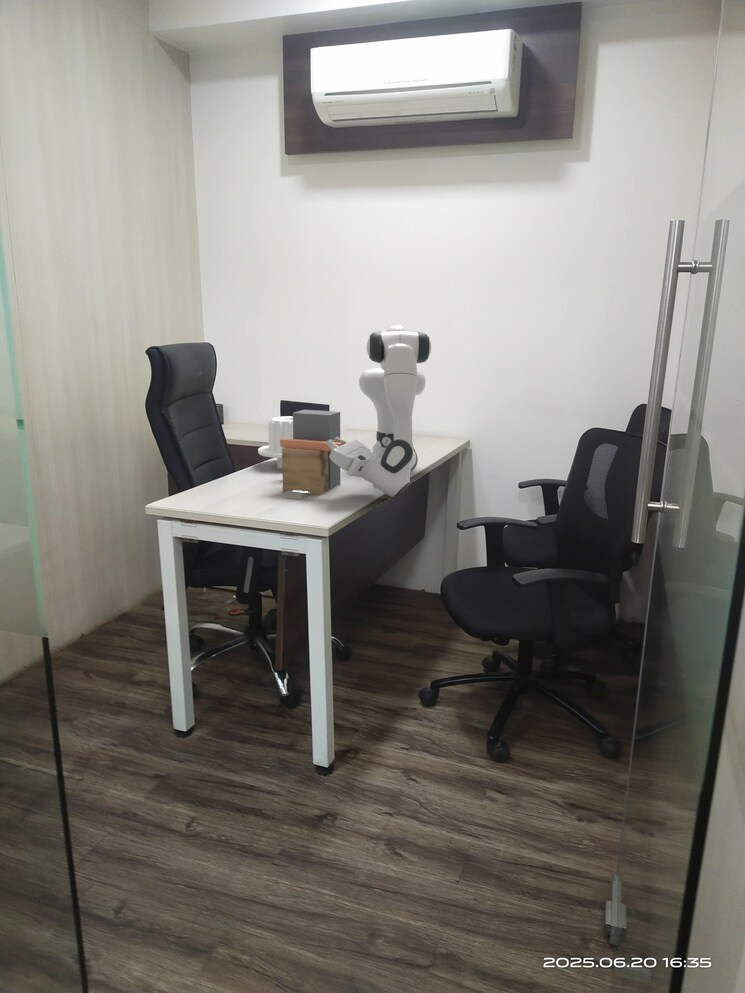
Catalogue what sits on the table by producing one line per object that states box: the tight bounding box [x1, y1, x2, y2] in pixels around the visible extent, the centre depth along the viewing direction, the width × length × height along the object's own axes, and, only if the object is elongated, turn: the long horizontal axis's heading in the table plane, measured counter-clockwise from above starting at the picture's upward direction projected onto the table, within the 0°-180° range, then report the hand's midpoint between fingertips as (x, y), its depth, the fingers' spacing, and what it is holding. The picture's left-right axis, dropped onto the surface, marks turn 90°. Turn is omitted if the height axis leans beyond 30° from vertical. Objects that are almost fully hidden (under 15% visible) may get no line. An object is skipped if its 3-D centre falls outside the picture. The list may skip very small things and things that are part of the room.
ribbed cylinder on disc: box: [257, 415, 293, 469], centre depth 281 cm, size 25×25×19 cm
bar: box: [280, 438, 342, 451], centre depth 238 cm, size 3×22×3 cm, turn 69°
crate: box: [281, 447, 329, 496], centre depth 241 cm, size 7×14×15 cm, turn 69°
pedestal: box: [292, 409, 341, 490], centre depth 249 cm, size 9×14×26 cm, turn 69°
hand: (331, 440), depth 235 cm, fingers open, 4 cm apart
